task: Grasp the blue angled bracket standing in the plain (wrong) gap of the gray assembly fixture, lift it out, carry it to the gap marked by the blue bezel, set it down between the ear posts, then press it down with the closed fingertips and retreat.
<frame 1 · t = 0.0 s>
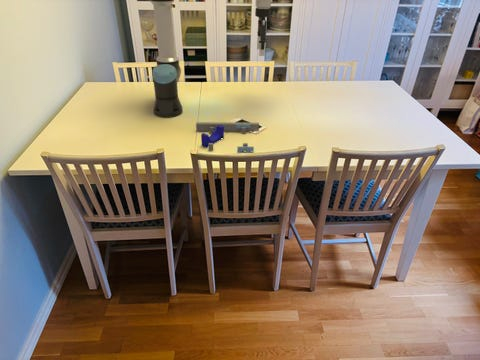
hand: (260, 52, 177), 28 cm above the table, fingers open, 13 cm apart
blue angled bracket: (211, 142, 154), on the table
gray assembly fixture: (227, 141, 154), on the table
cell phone: (246, 127, 168), on the table
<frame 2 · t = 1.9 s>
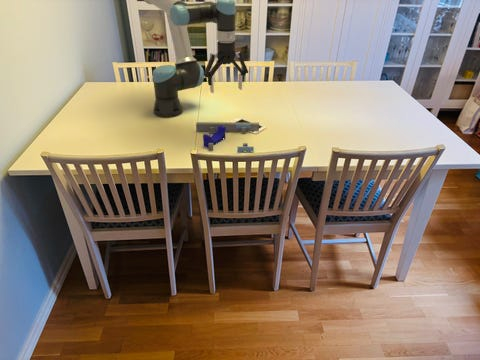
hand: (226, 90, 153), 20 cm above the table, fingers open, 13 cm apart
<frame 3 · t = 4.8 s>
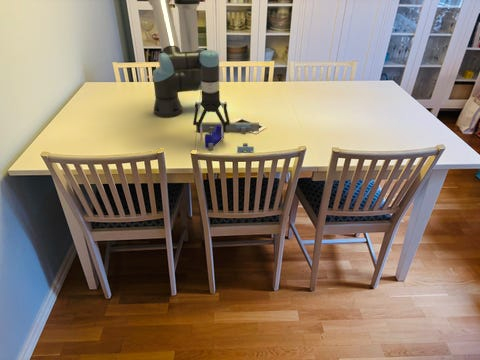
hand: (212, 138, 153), 1 cm above the table, fingers open, 9 cm apart
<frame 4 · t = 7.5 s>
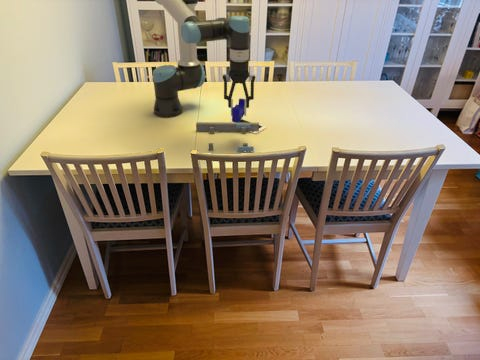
hand: (238, 114, 146), 13 cm above the table, fingers closed on blue angled bracket, 5 cm apart
blue angled bracket: (237, 116, 146), point 13 cm above the table, touching gripper
everything else where it was.
when the fingers open (1 cm above the table, at t = 10.2 s): blue angled bracket stays where it is, on the table.
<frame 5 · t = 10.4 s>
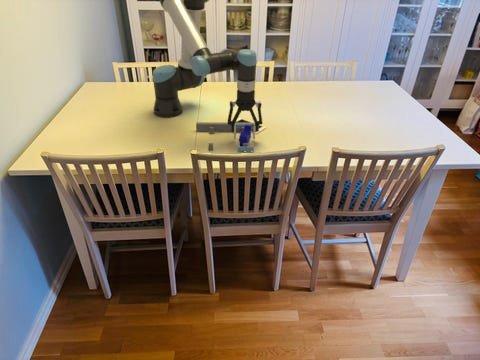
hand: (244, 137, 153), 2 cm above the table, fingers open, 8 cm apart
blue angled bracket: (243, 142, 154), on the table
everything else where it was.
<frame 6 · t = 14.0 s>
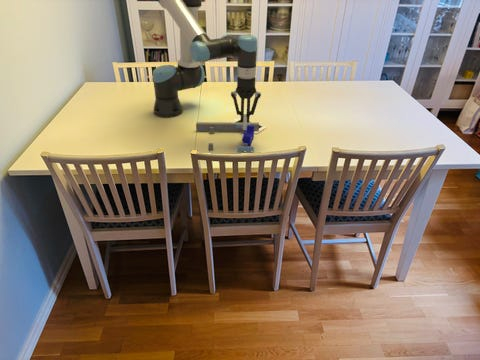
hand: (244, 128, 151), 6 cm above the table, fingers closed
blue angled bracket: (246, 142, 154), on the table
everything else where it was.
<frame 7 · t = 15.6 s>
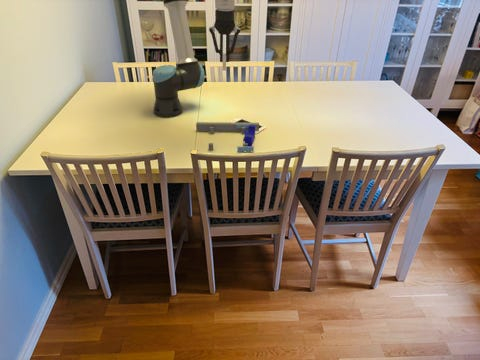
hand: (224, 69, 145), 30 cm above the table, fingers closed
nothing on the table moved.
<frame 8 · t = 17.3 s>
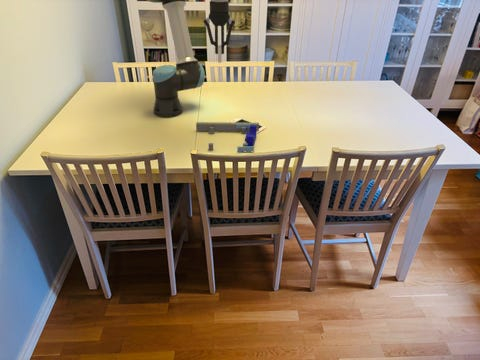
hand: (219, 61, 145), 32 cm above the table, fingers closed
at the end: blue angled bracket 2.7 cm from the target spot on the gray assembly fixture, point 0.0 cm above the gray assembly fixture's base; the gripper is holding nothing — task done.
